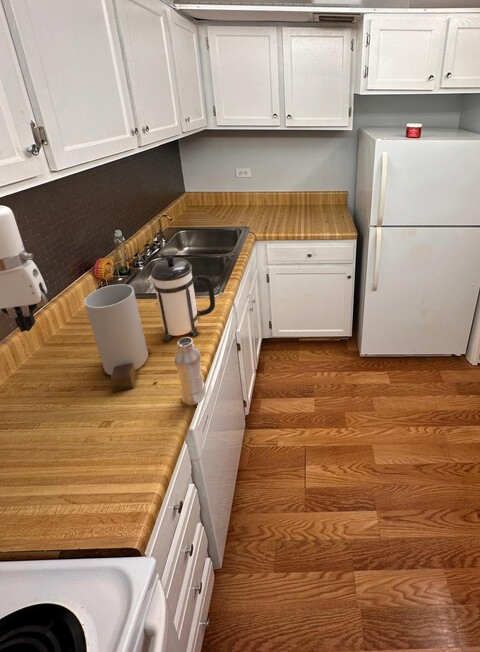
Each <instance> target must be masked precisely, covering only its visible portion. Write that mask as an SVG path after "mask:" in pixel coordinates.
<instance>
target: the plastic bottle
mask: <svg viewBox="0 0 480 652" xmlns="http://www.w3.org/2000/svg"><path fill="white" fill-rule="evenodd" d="M176 346H177V350H178V351H177V352H176V354H175V357H174V364H175V367H176V370H177V372H178V375H179V378H180V379H179V381H180V392H179V393H180V395H179V396H180V398H181V401H182V402H183V404H185V405H188V406H195V405H198V404H199V403H201V402H202V401H203V400H204V398H205V397H206V392H207V388H206V385H205V382H204V380H203V376H202V367H201V366H202V365H201V364H202V355H201V351H200V350H199V349H198V348H197V347H196V346H195V344H194V340H193V338H192V337H189V336H185V337H181V338H180V339H179V340H178V341H177V344H176Z"/></svg>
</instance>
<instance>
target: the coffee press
mask: <svg viewBox="0 0 480 652" xmlns="http://www.w3.org/2000/svg"><path fill="white" fill-rule="evenodd" d="M192 270H193V265H192V264H191V263H190V262H189V261H188V260H186V259H184V258H181V257H174V256H173V255H171V254H170V255H167V256H166V259H163V260H160V261H159V262H157V263H156V264H155V265H154V266H153V267H152V270H151V272H150V275H149V277H148V278H147V280H148V281H152V282H153V288H154V290H155V294H156V299H157V304H158V310H159V314H160V320H161V325H162V330H163V331H164V336H163V339H162V340H163V341H165V342H169V341H170V340H171V338H172V336H173V337H174V336H176V337H177V336H183V335H187V334H189V333H190V334H191V335H192V337H196V336H197V335H199V331H198V330H197V328H196V327H197V326H198V325H199V317H203V316H206V315H209V314H211V313H212V312H213V311H214V310H215V308H216V307H215V306H216V298H215V290H214V283H213V282H212V279H211V278H209V277H208V276H207V275H204V274H203V275H201V274H200V275H199V274H198V275H195V276H194V275H193V273H192ZM197 281H198V282H204V283H205V284H206V285H207V288H208V289H207V290H208V296H209V297H208V298H209V306H208V307H207V308H206V309H202V310H199V309H198V308H197V301H196V295H195V288H194V282H197Z"/></svg>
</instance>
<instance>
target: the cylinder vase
mask: <svg viewBox="0 0 480 652" xmlns="http://www.w3.org/2000/svg"><path fill="white" fill-rule="evenodd" d="M134 289H135V288H134V286H132V285H130V284H124V283H119V284H117V283H116V284H111V285H106V286H103V287H100V288H98V289H96V290H94V291H92V292H90V293H89V294H87V296H85V298H84V300H83V303H84V306H85V310H86V313H87V317H88V320H89V321H88V322H89V323H90V324H89V325H90V327H91V330H92V334H93V337H94V341H95V343H96V348H97V351H98V354H99V357H100V361H101V364H102V369H103V370H104V372H105V374H107V375H109V376H111V375H112V372H113V369H114V367H115V366H120V365H125V364H130V363H133V365H134V369H135V371H138V370H139V369H140V368H141V367H142V366H143V365H145V363H146V362H147V359H148V358H149V351H148V347H147V342H146V338H145V334H144V329H143V325H142V321H141V315H140V311H139V307H138V306H139V305H138V302H137V298H136V294H135V290H134Z"/></svg>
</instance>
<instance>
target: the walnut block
mask: <svg viewBox="0 0 480 652" xmlns="http://www.w3.org/2000/svg"><path fill="white" fill-rule="evenodd" d="M136 378H137V373H136V370H135V369H134V365H133V363H130V364H125V365H120V366H115V367H114V369H113V372H112V375H110V380H109V381H110V383H111V387H112V390H113V393H117V392H121V391H122V392H123V391H126V390H131V389H134V386H135V382H136Z"/></svg>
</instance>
